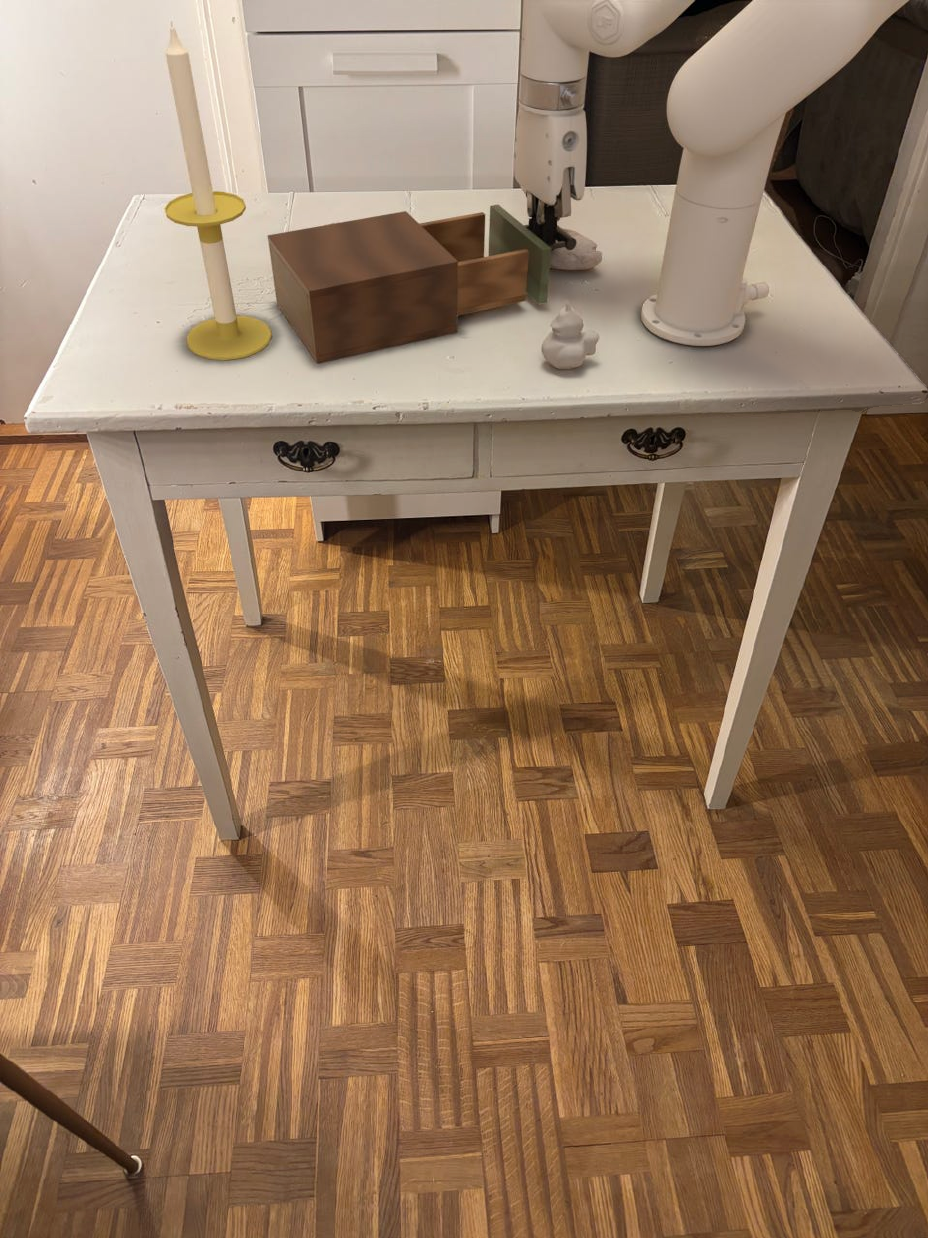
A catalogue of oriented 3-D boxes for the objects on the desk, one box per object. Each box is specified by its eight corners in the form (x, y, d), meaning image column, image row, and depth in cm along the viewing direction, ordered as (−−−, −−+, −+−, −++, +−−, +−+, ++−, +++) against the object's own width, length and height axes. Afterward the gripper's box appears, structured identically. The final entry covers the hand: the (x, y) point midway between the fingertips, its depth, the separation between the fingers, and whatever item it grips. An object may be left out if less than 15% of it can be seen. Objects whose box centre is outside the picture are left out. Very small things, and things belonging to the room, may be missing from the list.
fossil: (507, 220, 125) (570, 212, 128) (504, 252, 127) (567, 243, 131) (552, 251, 117) (618, 241, 120) (548, 284, 119) (613, 273, 123)
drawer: (533, 248, 126) (537, 196, 121) (586, 293, 117) (593, 239, 112) (381, 279, 119) (378, 225, 114) (425, 329, 110) (424, 273, 105)
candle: (175, 329, 111) (103, 14, 88) (254, 310, 115) (205, 2, 91) (202, 368, 105) (132, 40, 82) (284, 346, 109) (240, 27, 85)
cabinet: (408, 278, 121) (406, 210, 115) (457, 332, 112) (458, 261, 105) (276, 304, 116) (267, 234, 109) (317, 363, 106) (309, 290, 100)
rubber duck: (534, 354, 108) (539, 289, 102) (588, 349, 109) (597, 285, 103) (546, 379, 105) (552, 313, 99) (602, 374, 106) (611, 308, 100)
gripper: (615, 106, 101) (597, 268, 114) (548, 68, 111) (538, 222, 124) (556, 115, 99) (544, 280, 112) (492, 76, 108) (488, 232, 121)
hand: (541, 249), depth 118 cm, fingers closed
